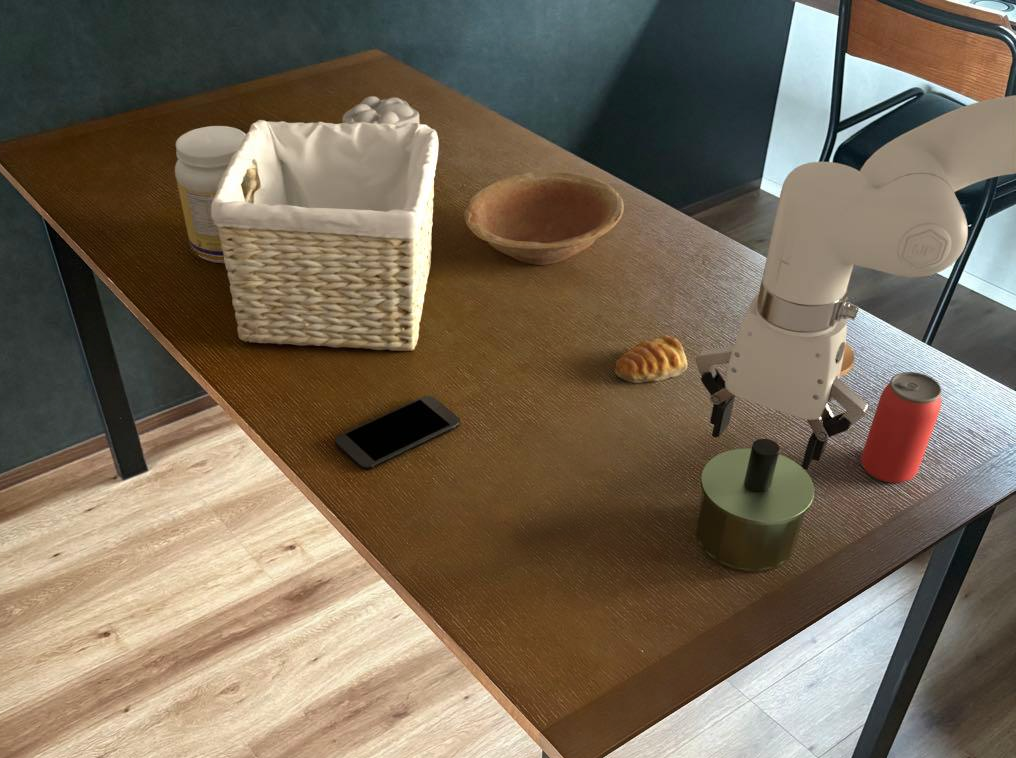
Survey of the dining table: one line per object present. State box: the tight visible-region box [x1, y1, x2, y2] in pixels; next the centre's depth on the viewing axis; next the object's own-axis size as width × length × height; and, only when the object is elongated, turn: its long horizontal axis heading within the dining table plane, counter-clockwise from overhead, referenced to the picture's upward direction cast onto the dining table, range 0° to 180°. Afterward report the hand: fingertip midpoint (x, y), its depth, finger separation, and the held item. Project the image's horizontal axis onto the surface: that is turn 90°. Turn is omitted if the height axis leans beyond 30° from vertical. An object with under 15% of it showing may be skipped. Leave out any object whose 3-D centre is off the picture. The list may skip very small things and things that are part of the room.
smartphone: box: [333, 395, 461, 471], centre depth 134 cm, size 7×15×1 cm, turn 128°
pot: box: [695, 491, 806, 573], centre depth 118 cm, size 11×11×8 cm
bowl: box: [463, 171, 625, 266], centre depth 164 cm, size 24×24×8 cm
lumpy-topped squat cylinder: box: [341, 95, 421, 127], centre depth 188 cm, size 10×13×9 cm
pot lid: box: [700, 438, 815, 525], centre depth 114 cm, size 12×12×6 cm
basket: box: [211, 119, 440, 352], centre depth 148 cm, size 27×27×22 cm
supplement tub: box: [174, 125, 249, 264], centre depth 162 cm, size 12×12×17 cm
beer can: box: [860, 371, 943, 484], centre depth 125 cm, size 7×7×12 cm
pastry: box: [614, 334, 688, 384], centre depth 142 cm, size 9×7×4 cm
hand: (763, 446), depth 111 cm, fingers open, 9 cm apart
